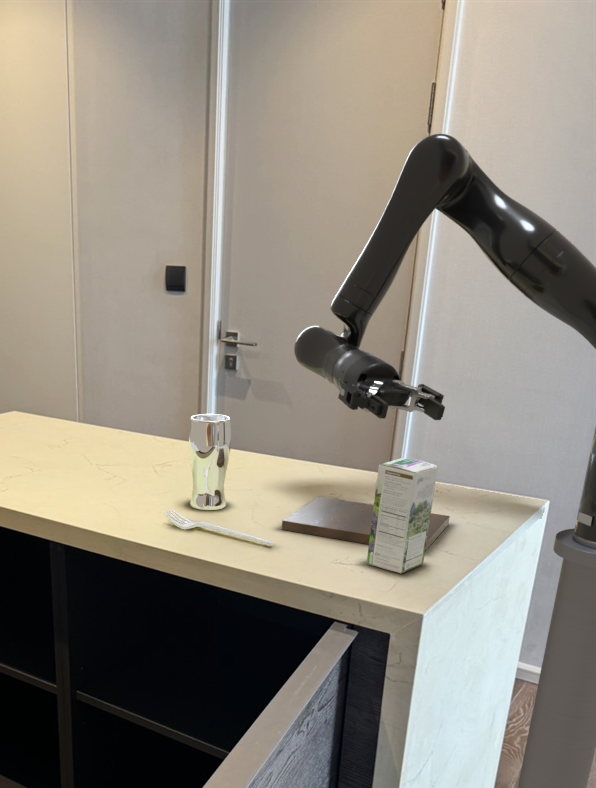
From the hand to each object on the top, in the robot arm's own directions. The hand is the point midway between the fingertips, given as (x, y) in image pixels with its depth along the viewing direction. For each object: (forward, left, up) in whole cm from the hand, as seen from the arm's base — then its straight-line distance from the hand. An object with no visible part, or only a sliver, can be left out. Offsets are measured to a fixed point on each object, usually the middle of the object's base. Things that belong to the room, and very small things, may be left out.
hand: (413, 412), depth 120 cm
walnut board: (+7, -7, -20) cm, 22 cm away
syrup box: (-2, +8, -20) cm, 21 cm away
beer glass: (+34, -5, -20) cm, 40 cm away
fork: (+26, +8, -20) cm, 34 cm away
